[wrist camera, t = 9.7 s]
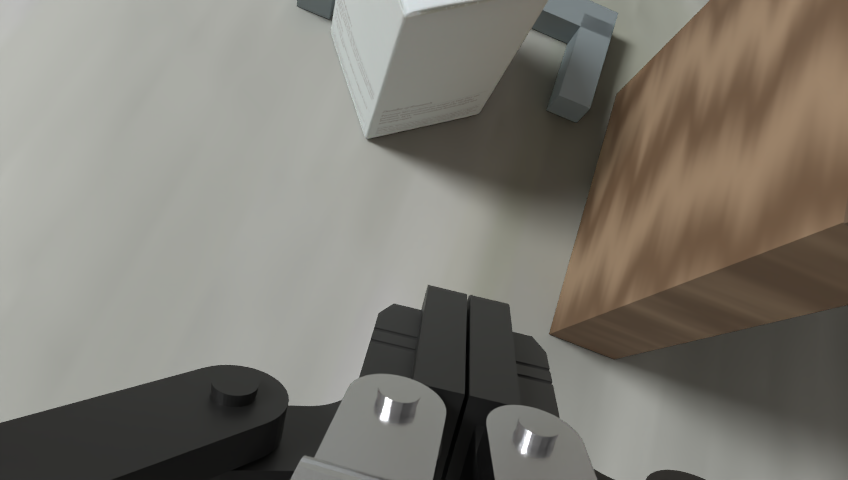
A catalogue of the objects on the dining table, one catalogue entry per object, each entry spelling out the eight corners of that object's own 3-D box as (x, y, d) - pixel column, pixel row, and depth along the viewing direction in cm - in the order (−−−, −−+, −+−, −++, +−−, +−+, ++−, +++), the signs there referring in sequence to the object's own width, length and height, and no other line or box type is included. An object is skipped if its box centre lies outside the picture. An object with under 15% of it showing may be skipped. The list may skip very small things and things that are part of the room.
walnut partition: (613, 88, 45) (941, -251, 23) (679, 116, 45) (1063, -190, 23) (542, 337, 39) (880, 210, 17) (618, 366, 40) (1039, 277, 18)
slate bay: (576, 122, 43) (590, 108, 41) (297, 6, 42) (298, -15, 40) (603, 30, 46) (618, 12, 44) (339, -84, 44) (342, -108, 42)
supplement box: (482, 116, 42) (564, -11, 30) (362, 142, 40) (400, 18, 28) (444, 8, 44) (508, -154, 32) (327, 27, 42) (348, -137, 30)
